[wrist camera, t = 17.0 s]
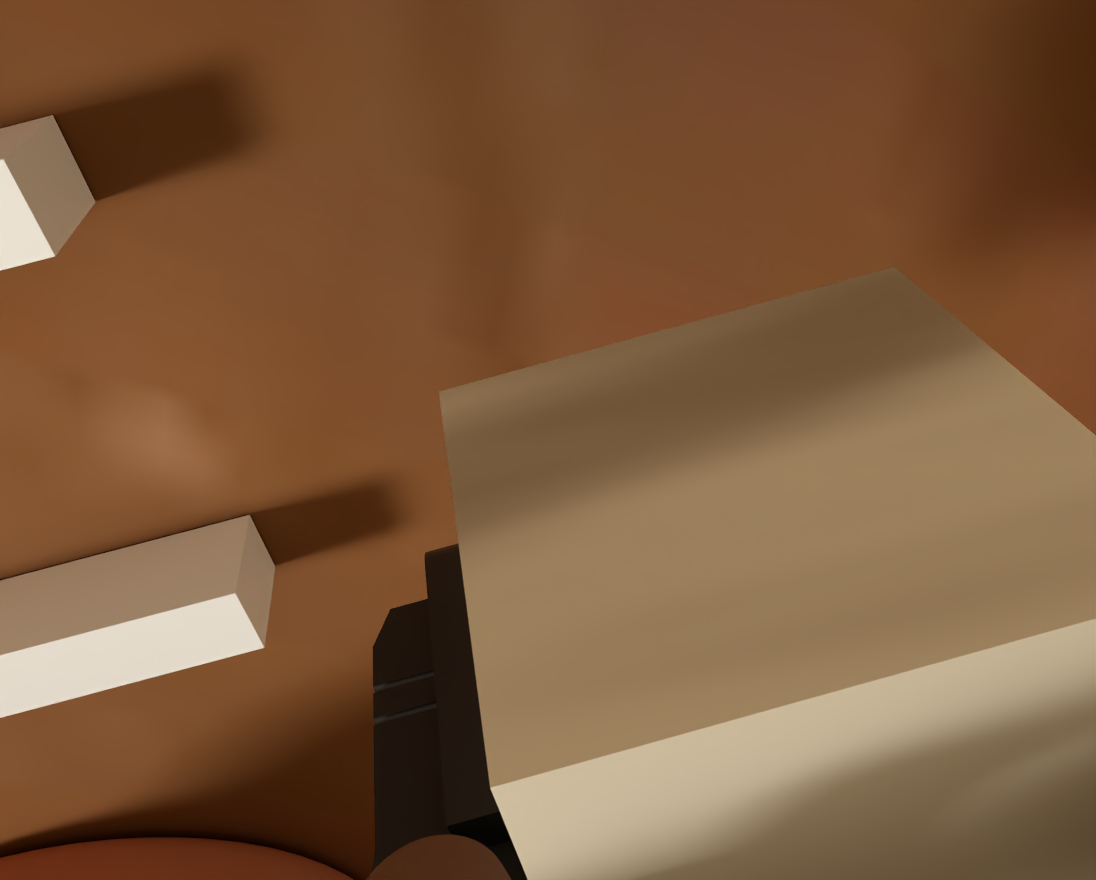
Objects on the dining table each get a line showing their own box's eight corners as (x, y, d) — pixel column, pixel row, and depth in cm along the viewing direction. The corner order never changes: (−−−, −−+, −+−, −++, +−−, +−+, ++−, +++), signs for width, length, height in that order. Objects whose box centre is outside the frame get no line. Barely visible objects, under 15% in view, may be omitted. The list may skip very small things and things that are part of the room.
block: (438, 391, 10) (489, 788, 6) (894, 267, 10) (1258, 572, 6) (542, 702, 13) (626, 1118, 9) (899, 601, 13) (1150, 969, 9)
